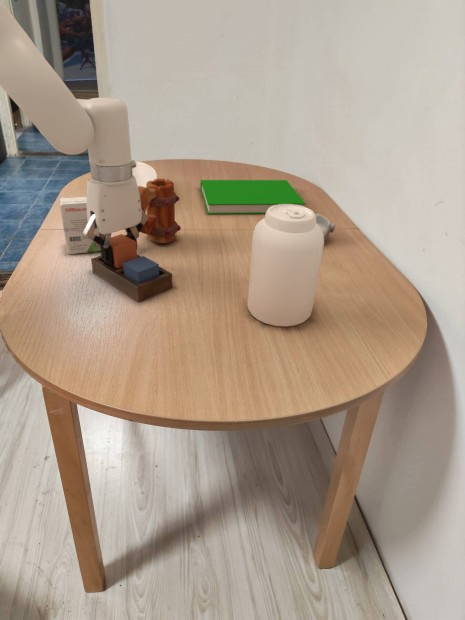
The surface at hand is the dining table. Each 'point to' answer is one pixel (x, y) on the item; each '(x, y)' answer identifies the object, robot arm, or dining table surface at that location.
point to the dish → (324, 225)
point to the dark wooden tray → (129, 286)
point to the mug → (159, 210)
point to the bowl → (143, 173)
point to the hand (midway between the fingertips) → (120, 257)
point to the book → (247, 195)
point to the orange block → (123, 249)
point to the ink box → (76, 226)
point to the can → (284, 265)
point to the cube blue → (141, 269)
